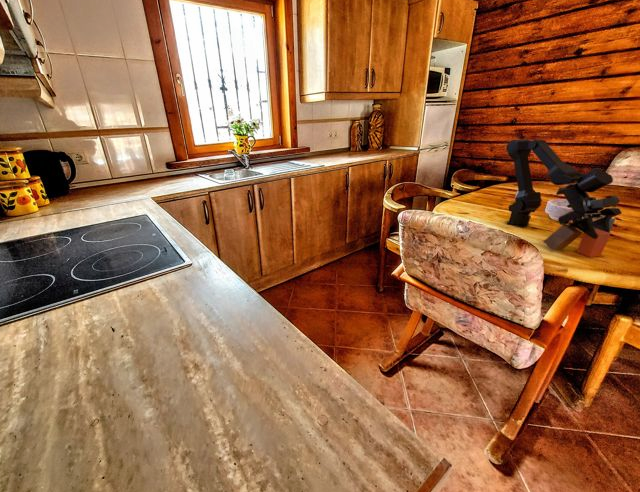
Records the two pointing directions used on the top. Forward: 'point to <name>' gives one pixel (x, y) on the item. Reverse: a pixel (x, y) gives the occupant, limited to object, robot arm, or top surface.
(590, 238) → the terracotta block
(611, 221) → the slate block
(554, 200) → the paper bowls
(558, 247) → the walnut block
